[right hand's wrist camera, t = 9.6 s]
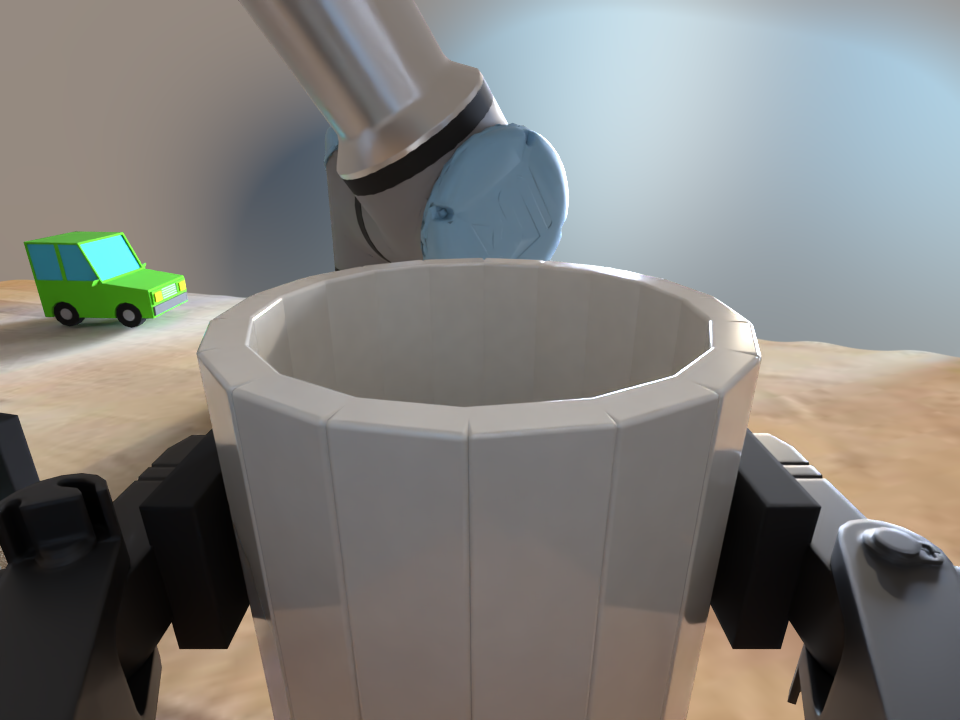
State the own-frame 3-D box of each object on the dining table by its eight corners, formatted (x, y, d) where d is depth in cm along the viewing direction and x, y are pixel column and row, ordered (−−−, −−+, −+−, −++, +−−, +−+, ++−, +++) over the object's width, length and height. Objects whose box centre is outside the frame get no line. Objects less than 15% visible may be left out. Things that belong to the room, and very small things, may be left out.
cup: (438, 562, 17) (425, 245, 14) (700, 683, 13) (784, 285, 10) (213, 801, 11) (73, 334, 7) (583, 1155, 7) (694, 550, 3)
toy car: (153, 331, 63) (134, 245, 60) (41, 329, 63) (16, 243, 60) (197, 307, 73) (183, 232, 69) (99, 305, 73) (80, 230, 69)
